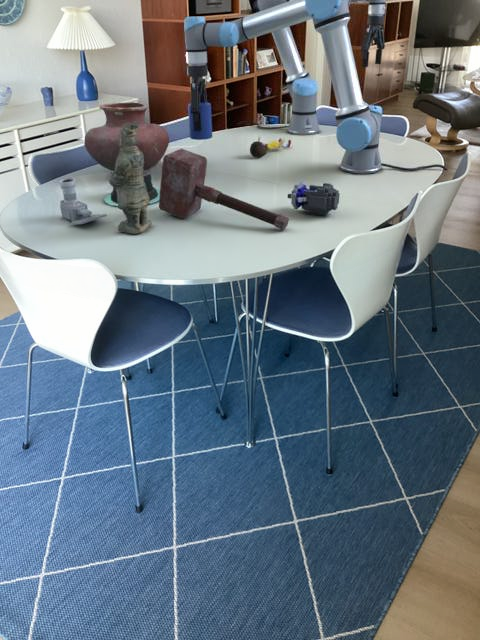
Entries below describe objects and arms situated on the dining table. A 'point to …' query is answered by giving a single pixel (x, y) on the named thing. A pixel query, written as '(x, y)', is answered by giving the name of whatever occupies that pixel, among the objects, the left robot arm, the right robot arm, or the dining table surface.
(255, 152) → the figurine
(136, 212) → the statue
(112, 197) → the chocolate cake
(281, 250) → the dining table surface
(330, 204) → the toy
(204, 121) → the canister
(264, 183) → the dining table surface
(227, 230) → the dining table surface
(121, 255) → the dining table surface
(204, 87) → the right robot arm
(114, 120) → the clay pot
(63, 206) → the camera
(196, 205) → the sledgehammer
